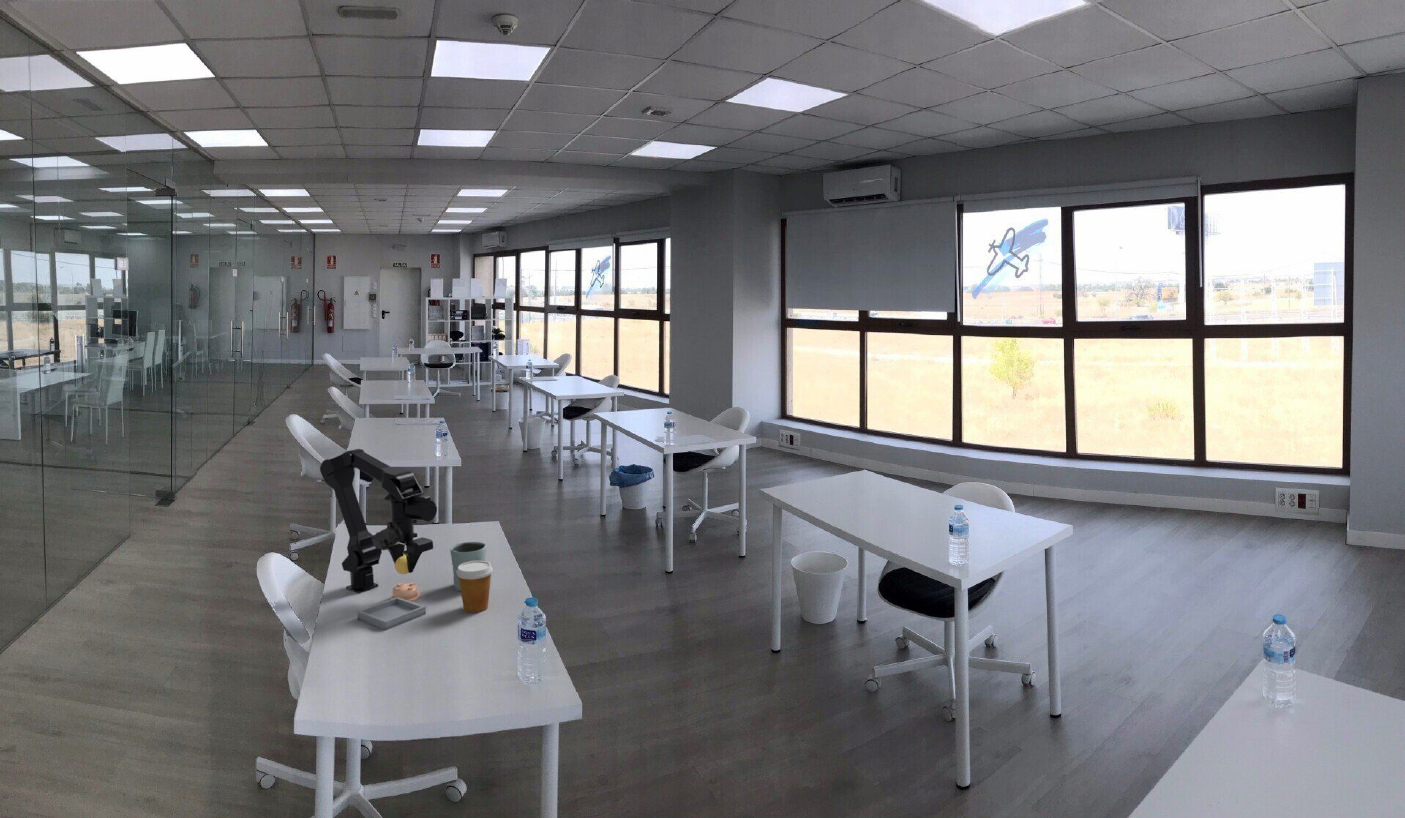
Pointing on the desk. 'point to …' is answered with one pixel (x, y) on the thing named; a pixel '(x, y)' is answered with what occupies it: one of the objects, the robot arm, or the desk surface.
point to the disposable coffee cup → (475, 585)
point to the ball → (401, 565)
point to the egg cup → (406, 592)
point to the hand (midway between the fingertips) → (404, 570)
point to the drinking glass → (466, 556)
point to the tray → (391, 613)
